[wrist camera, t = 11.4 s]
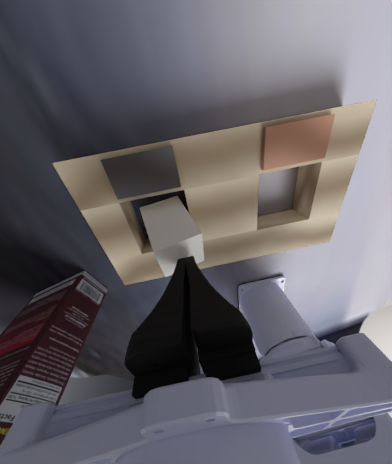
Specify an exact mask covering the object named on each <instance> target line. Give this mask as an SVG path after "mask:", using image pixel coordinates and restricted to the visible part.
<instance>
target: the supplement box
mask: <svg viewBox="0 0 392 464" xmlns="http://www.w3.org/2000/svg"><path fill="white" fill-rule="evenodd" d="M107 291H108V289H107V288H106V287H104V286H103V285H102V284H101V283H100V282H98V281H97V280H96V279H95V278H94V277H92V276H91V275H90V274H89V273H87V272H86V271H83V272H80V273H78V274H76V275H74V276H72V277H70V278H68V279H66V280H64V281H62V282H59V283H57V284H55V285H53V286H51V287H49V288H47V289H45V290H43V291H41V292H38V293H37V294H35V296H34V297H33V298H32V299H31V300H30V301H29V303H28V304H27V305H26V306H25V307H24V308H23V309H22V311H21V312H20V313H19V314H18V315H17V316H16V318H15V319H14V320H13V321H12V322H11V323H10V324H9V326H8V327H7V328H6V329H5V330H4V331H3V333H2V334H1V335H0V445H1V444H2V442H3V440H4V439H5V437H6V435H7V433H8V432H9V430H10V428H11V426H12V425H13V423H14V421H15V419H16V418H17V416H18V414H19V413H20V411H21V409H22V407H24V406H27V405H31V404H36V403H40V402H51V403H54V404H55V405H56V406H58V403H59V401H60V399H61V396H62V394H63V392H64V389H65V387H66V385H67V383H68V380H69V378H70V376H71V373H72V371H73V369H74V366H75V364H76V362H77V360H78V357H79V355H80V353H81V350H82V348H83V346H84V343H85V341H86V339H87V336H88V334H89V332H90V330H91V327H92V325H93V323H94V320H95V318H96V316H97V313H98V311H99V309H100V307H101V304H102V302H103V300H104V297H105V295H106V293H107Z"/></svg>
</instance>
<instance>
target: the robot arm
mask: <svg viewBox="0 0 392 464" xmlns="http://www.w3.org/2000/svg"><path fill="white" fill-rule="evenodd" d="M285 279H286V278H285V277H284V276H279V277H274V278H269V279H265V280H260V281H255V282H251V283H246V284H241V285H239V286H238V296H239V310H238V309H237V308H235V307H234V306H233V305H232V304H230V303H229V302H228V301H227V300H226V299H224V298H223V297H222V296H221V295H220V294H219V293H218V292H217V291H216V290H215V289H214V288H213V287H212V286H211V284H210V283H209V282H208V281H207V279H206V278H205V277H204V275H203V274H202V272H201V271H200V269H199V267H198V266H197V264H196V261H195V258H194V256H190V257H185V258H180V259H178V260H177V264H176V267H175V270H174V272H173V275H172V277H171V280H170V282H169V284H168V286H167V288H166V290H165V292H164V294H163V295H162V297H161V299H160V300H159V302H158V303H157V305H156V306H155V308H154V309H153V310H152V312H151V313H150V314H149V316H148V317H147V318H146V319H145V321H144V322H143V323H142V324H141V325H140V326H139V327H138V328H137V330H136V331H135V332H134V333H133V334H132V336H131V339H130V342H129V345H128V348H127V353H126V357H125V362H124V364H125V366H126V368H127V369H128V370H129V371H130V372H131V373H132V374H133V375H134V376H135V378H134V385H133V389H132V390H128V391H123V392H118V393H114V394H109V395H105V396H100V397H95V398H91V399H86V400H82V401H77V402H72V403H68V404H63V405H59V406H56V405H55V404H54V403H51V402H40V403H36V404H31V405H27V406H24V407H22V409H21V411H20V413H19V414H18V416H17V418H16V419H15V421H14V423H13V425H12V426H11V428H10V430H9V432H8V433H7V435H6V437H5V439H4V440H3V442H2V444H1V445H0V464H392V418H391V417H390V415H389V414H388V413H389V412H392V362H391V361H390V360H389V359H388V358H387V357H386V356H385V355H384V354H383V352H382V351H380V349H379V348H378V347H377V346H376V345H374V343H373V342H372V341H371V340H370V339H369V338H368V337H367V336H366V335H365V334H363V333H359V334H354V335H349V336H345V337H342V338H340V339H339V340H338V341H337V342H336V345H334V344H333V343H331V342H328V341H327V340H323V341H321V342H320V341H319V340H318V339H317V338H316V337H315V335H314V334H313V333H312V331H311V330H310V328H309V327H308V326H307V324H306V323H305V321H304V320H303V319H302V317H301V316H300V315H299V313H298V312H297V310H296V309H295V308H294V306H293V305H292V303H291V302H290V301H289V299H288V298H287V296H286V295H285V294H284V292H283V290H284V285H285ZM252 336H253V338H254V341H255V343H256V346H257V348H258V350H259V352H260V354H261V355H262V356H263V357H264V358H262V359H261V362H259V360H258V358H257V355H256V352H255V347H254V345H253V342H252ZM197 348H198V353H197ZM198 357H199V360H198ZM199 363H200V364H201V367H202V369H203V372H204V374H200V367H199Z"/></svg>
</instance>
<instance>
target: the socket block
mask: <svg viewBox="0 0 392 464" xmlns="http://www.w3.org/2000/svg"><path fill="white" fill-rule="evenodd" d="M376 102H377V99H376V100H371V101H366V102H361V103H356V104H351V105H346V106H341V107H336V108H330V109H325V110H320V111H315V112H310V113H305V114H300V115H295V116H290V117H285V118H280V119H274V120H269V121H264V122H259V123H254V124H249V125H244V126H239V127H234V128H229V129H224V130H218V131H213V132H208V133H203V134H198V135H193V136H188V137H183V138H178V139H173V140H168V141H162V142H157V143H152V144H147V145H142V146H137V147H132V148H127V149H122V150H117V151H112V152H106V153H101V154H96V155H91V156H86V157H81V158H76V159H71V160H66V161H61V162H56V163H52V164H53V166H54V167H55V169H56V171H57V172H58V174H59V176H60V177H61V179H62V181H63V182H64V184H65V186H66V187H67V189H68V191H69V192H70V194H71V196H72V197H73V199H74V201H75V202H76V204H77V206H78V207H79V209H80V211H81V213H82V214H83V216H84V218H85V219H86V221H87V223H88V224H89V226H90V228H91V229H92V231H93V233H94V234H95V236H96V238H97V239H98V241H99V243H100V244H101V246H102V248H103V249H104V251H105V253H106V254H107V256H108V258H109V259H110V261H111V263H112V264H113V266H114V268H115V269H116V271H117V273H118V274H119V276H120V278H121V279H122V281H123V283H124V284H125V285H128V284H132V283H137V282H142V281H147V280H151V279H156V278H161V277H165V275H164V273H163V271H162V269H161V267H160V265H159V263H158V261H157V259H156V257H155V254H154V252H153V249H152V246H151V243H150V240H149V239H146V238H145V236H144V233H143V231H142V228H141V226H140V223H139V221H138V218H137V216H136V213H135V211H134V208H133V206H132V203H131V200H136V199H141V198H146V197H151V196H156V195H161V194H166V193H171V192H176V191H180V190H184V191H185V196H186V201H187V206H188V210H189V214H190V216H191V217H192V219H193V220H194V222H195V223H196V225H197V226H198V228H199V229H200V231H201V232H202V238H203V250H204V261H202V262H200V263H197V266H198V267H199V269H203V268H208V267H213V266H217V265H222V264H227V263H232V262H236V261H241V260H246V259H251V258H255V257H260V256H265V255H269V254H274V253H279V252H284V251H288V250H293V249H298V248H302V247H307V246H312V245H317V244H321V243H326V242H330V239H331V236H332V233H333V230H334V227H335V224H336V221H337V218H338V215H339V212H340V209H341V206H342V203H343V200H344V197H345V194H346V191H347V188H348V185H349V182H350V179H351V176H352V173H353V170H354V167H355V164H356V161H357V158H358V155H359V152H360V149H361V146H362V143H363V140H364V137H365V134H366V131H367V128H368V125H369V122H370V119H371V116H372V114H373V111H374V108H375V105H376ZM294 167H299V168H298V174H297V180H296V186H295V192H294V198H293V205H292V209H290V210H285V211H281V212H276V213H271V214H266V215H261V216H257V215H258V190H259V175H260V174H264V173H269V172H274V171H279V170H284V169H289V168H294ZM172 275H173V274H172Z"/></svg>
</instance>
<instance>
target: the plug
mask: <svg viewBox="0 0 392 464" xmlns="http://www.w3.org/2000/svg"><path fill="white" fill-rule="evenodd" d="M140 212H141V215H142V218H143V221H144V224H145V227H146V230H147V234H148V237H149V240H150V243H151V246H152V249H153V252H154V254H155V257H156V259H157V261H158V263H159V265H160V267H161V269H162V271H163V273H164V275H165V277H168V276H170V275H172V274H173V272H174V270H175V267H176V264H177V260H178V259H180V258H185V257H190V256H194V258H195V261H196V264H197V263H200V262H202V261H204V250H203V238H202V232H201V231H200V229H199V228H198V226H197V225H196V223H195V222H194V220H193V219H192V217H191V216H190V214H189V213H188V211H187V210H186V208H185V207H184V205H183V204H182V202H181V201H180V199H179V198H178V196H175V197H172V198H168V199H165V200H162V201H159V202H156V203H153V204H150V205H147V206H143V207H140Z"/></svg>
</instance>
